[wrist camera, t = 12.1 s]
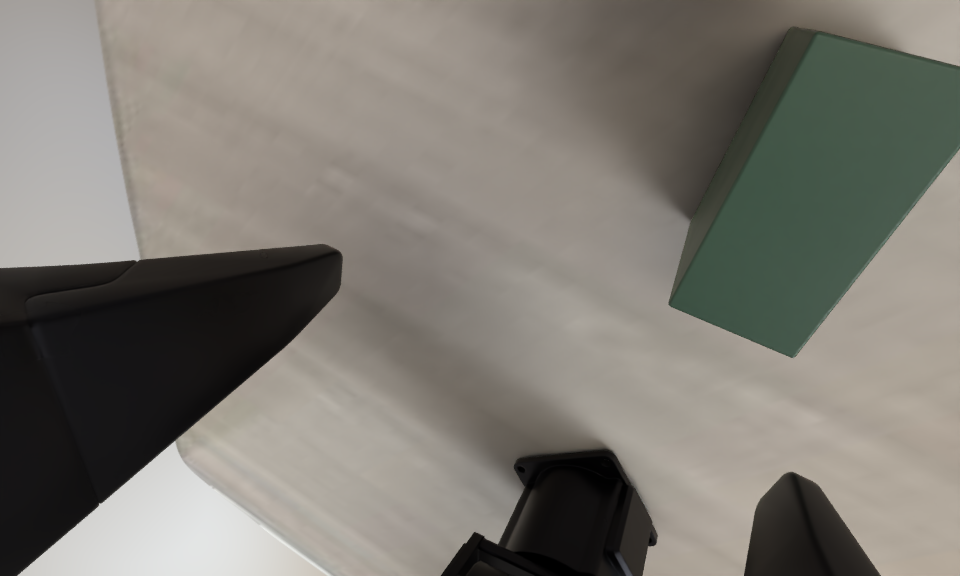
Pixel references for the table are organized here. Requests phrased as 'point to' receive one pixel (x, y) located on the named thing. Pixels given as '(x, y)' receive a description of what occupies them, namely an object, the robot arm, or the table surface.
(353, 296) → the table surface
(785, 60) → the green block
